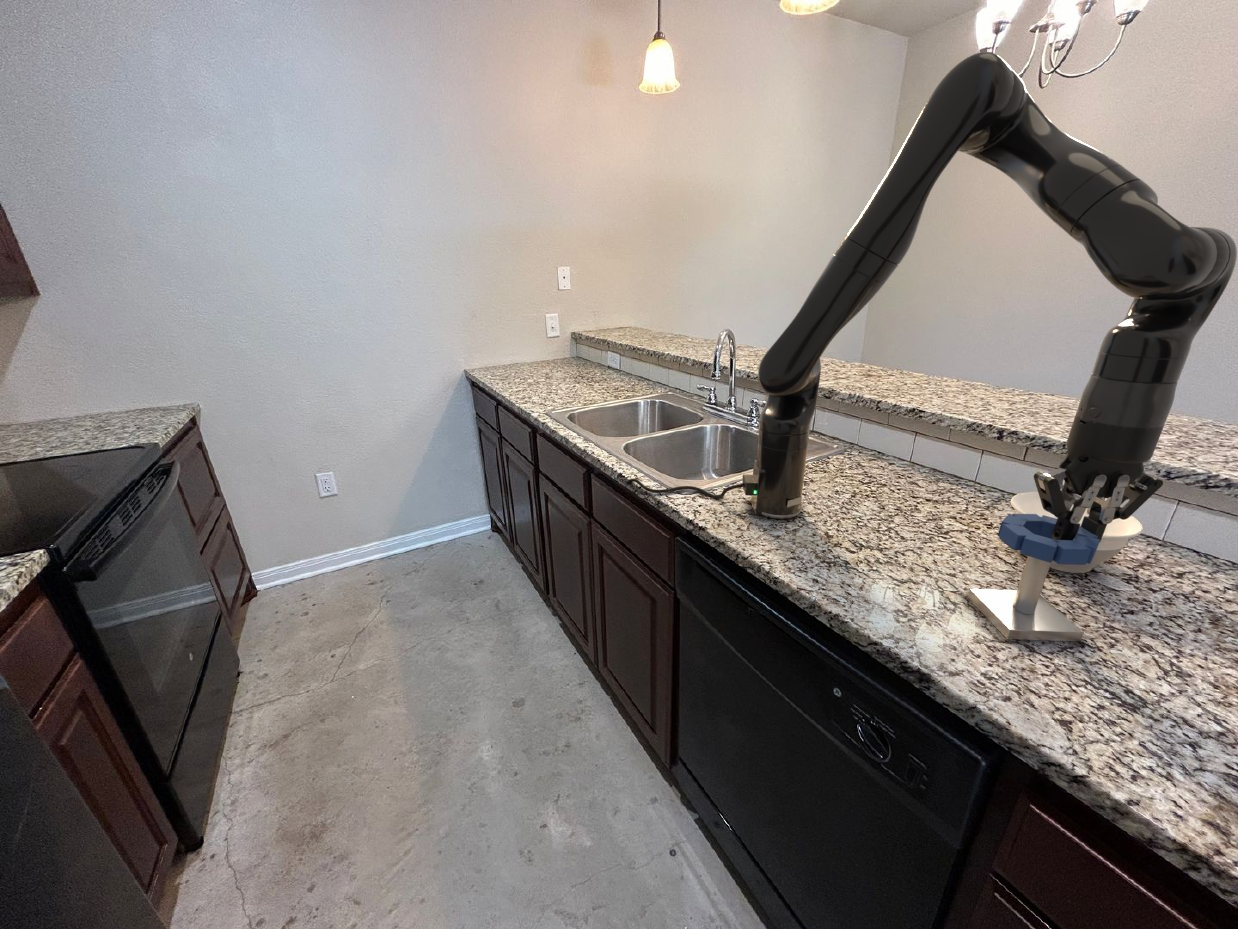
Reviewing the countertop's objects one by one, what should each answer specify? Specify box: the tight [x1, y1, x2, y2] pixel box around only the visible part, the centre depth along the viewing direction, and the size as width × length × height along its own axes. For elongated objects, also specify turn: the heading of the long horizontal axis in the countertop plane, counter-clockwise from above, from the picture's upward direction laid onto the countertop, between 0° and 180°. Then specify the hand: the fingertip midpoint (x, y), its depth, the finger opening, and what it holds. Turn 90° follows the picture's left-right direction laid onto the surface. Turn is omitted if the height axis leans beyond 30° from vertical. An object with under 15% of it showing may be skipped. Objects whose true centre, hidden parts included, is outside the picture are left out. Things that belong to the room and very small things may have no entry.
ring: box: [997, 513, 1100, 565], centre depth 64 cm, size 9×9×2 cm
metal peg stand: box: [967, 556, 1085, 642], centre depth 67 cm, size 9×9×12 cm
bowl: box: [1010, 491, 1144, 574], centre depth 81 cm, size 16×16×9 cm
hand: (1073, 545), depth 64 cm, fingers closed on ring, 2 cm apart
